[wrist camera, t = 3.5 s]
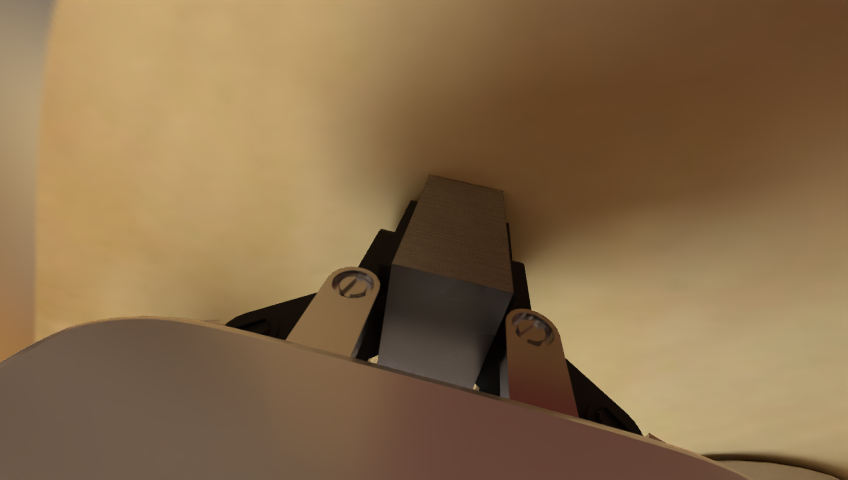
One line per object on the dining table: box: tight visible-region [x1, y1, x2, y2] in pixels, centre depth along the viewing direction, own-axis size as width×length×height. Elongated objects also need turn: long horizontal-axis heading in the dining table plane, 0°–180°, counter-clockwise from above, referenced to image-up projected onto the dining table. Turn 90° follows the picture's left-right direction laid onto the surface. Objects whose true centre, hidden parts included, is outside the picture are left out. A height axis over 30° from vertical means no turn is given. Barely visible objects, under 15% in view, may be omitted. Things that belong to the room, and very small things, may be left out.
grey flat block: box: [377, 175, 514, 389], centre depth 10 cm, size 2×5×5 cm, turn 170°
